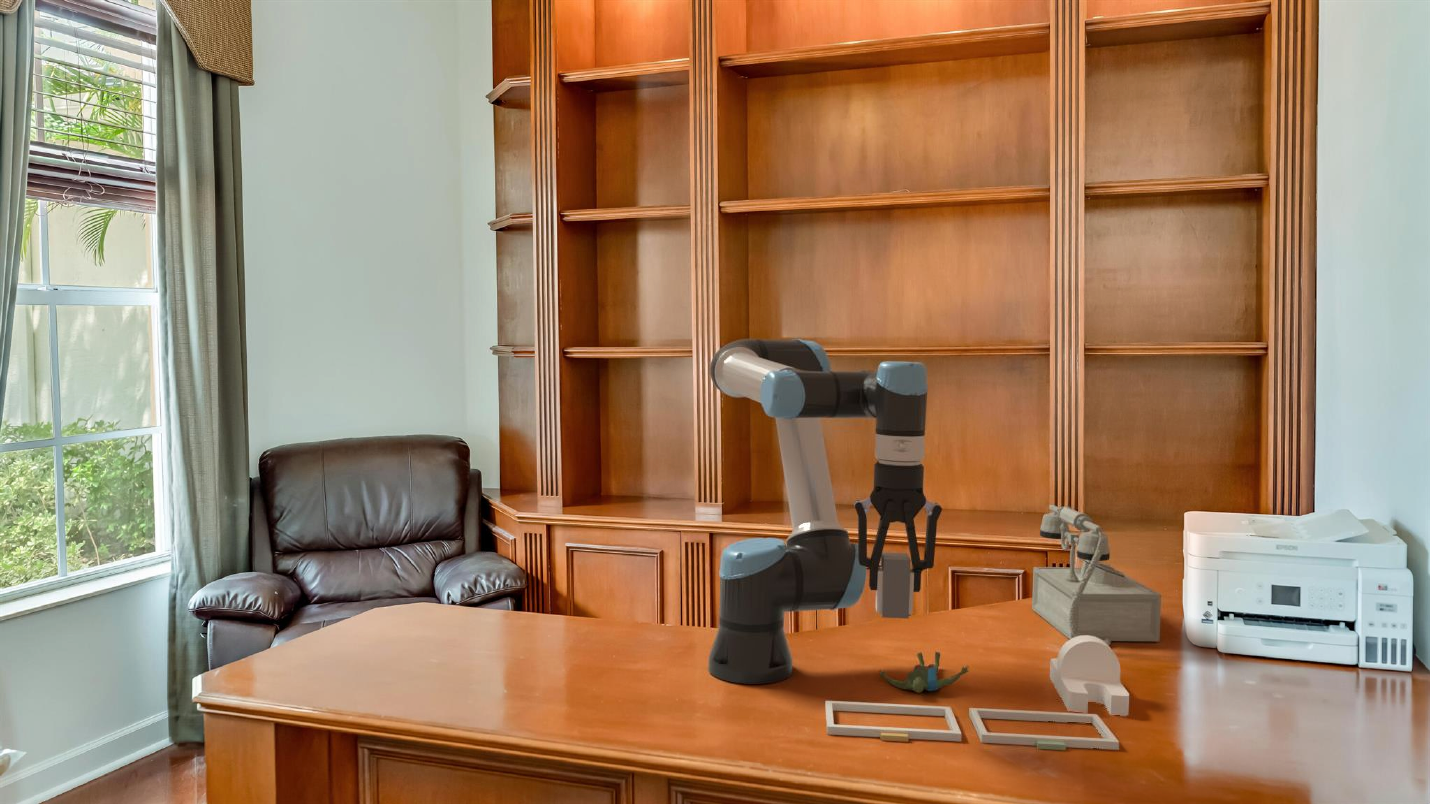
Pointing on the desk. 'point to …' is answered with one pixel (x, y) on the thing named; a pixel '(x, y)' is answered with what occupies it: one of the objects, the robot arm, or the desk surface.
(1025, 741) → the socket
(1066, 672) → the white slotted bracket
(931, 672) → the figurine
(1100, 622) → the rotary telephone
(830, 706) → the socket
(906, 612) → the plug
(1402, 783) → the desk surface
